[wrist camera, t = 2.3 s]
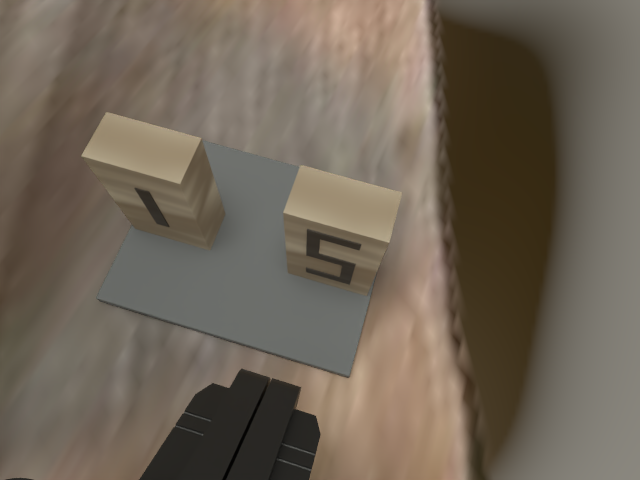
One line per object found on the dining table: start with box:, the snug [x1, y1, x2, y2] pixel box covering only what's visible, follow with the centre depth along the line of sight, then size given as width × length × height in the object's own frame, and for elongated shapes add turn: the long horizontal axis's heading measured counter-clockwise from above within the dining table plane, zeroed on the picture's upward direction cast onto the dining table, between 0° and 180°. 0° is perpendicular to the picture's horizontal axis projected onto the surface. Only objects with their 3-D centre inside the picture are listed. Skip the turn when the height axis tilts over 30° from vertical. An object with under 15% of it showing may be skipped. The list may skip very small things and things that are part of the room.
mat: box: [96, 140, 377, 378], centre depth 28 cm, size 14×11×1 cm
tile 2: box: [283, 165, 402, 296], centre depth 24 cm, size 2×4×8 cm, turn 73°
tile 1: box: [81, 112, 225, 250], centre depth 25 cm, size 2×4×8 cm, turn 74°
